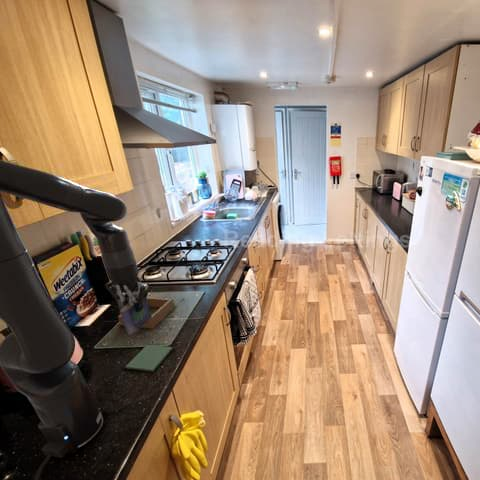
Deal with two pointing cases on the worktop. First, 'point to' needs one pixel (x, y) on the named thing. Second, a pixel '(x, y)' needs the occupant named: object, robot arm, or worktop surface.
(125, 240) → the robot arm
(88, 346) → the worktop surface
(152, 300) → the brown wooden tray
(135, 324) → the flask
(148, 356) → the mat
